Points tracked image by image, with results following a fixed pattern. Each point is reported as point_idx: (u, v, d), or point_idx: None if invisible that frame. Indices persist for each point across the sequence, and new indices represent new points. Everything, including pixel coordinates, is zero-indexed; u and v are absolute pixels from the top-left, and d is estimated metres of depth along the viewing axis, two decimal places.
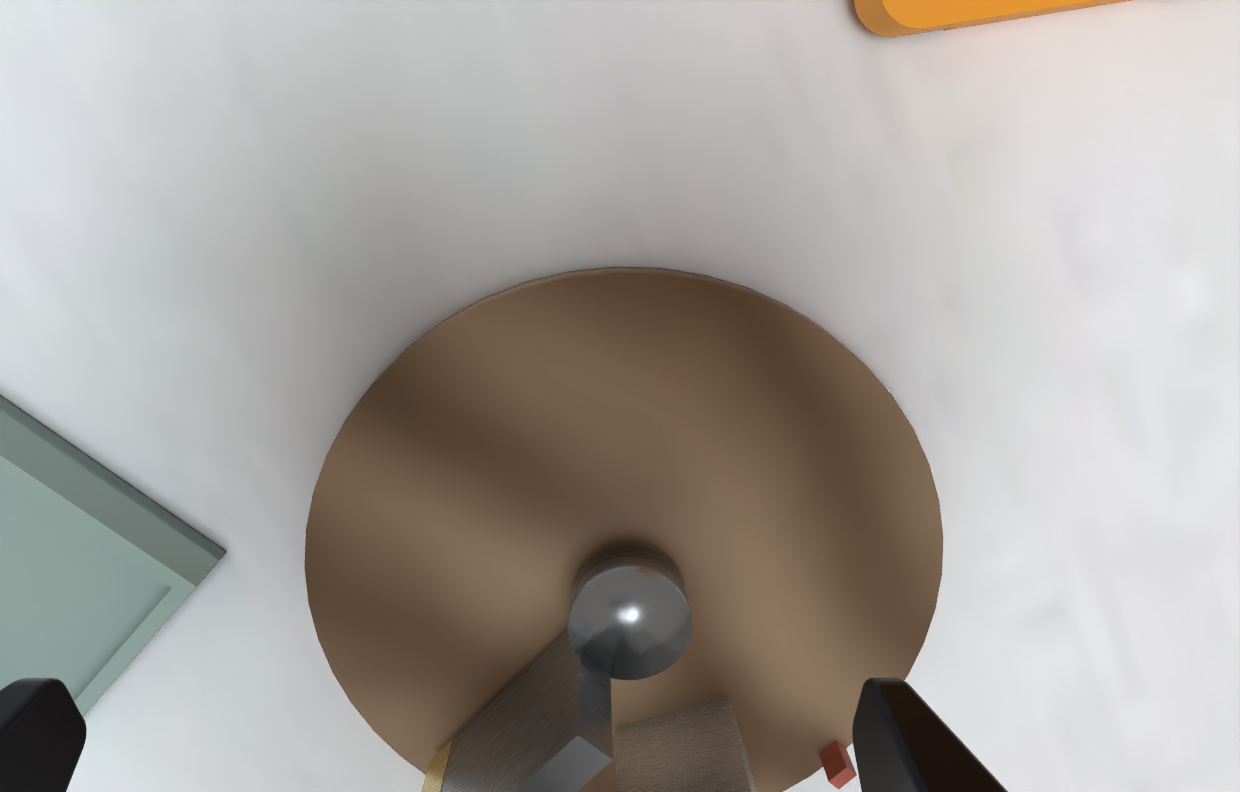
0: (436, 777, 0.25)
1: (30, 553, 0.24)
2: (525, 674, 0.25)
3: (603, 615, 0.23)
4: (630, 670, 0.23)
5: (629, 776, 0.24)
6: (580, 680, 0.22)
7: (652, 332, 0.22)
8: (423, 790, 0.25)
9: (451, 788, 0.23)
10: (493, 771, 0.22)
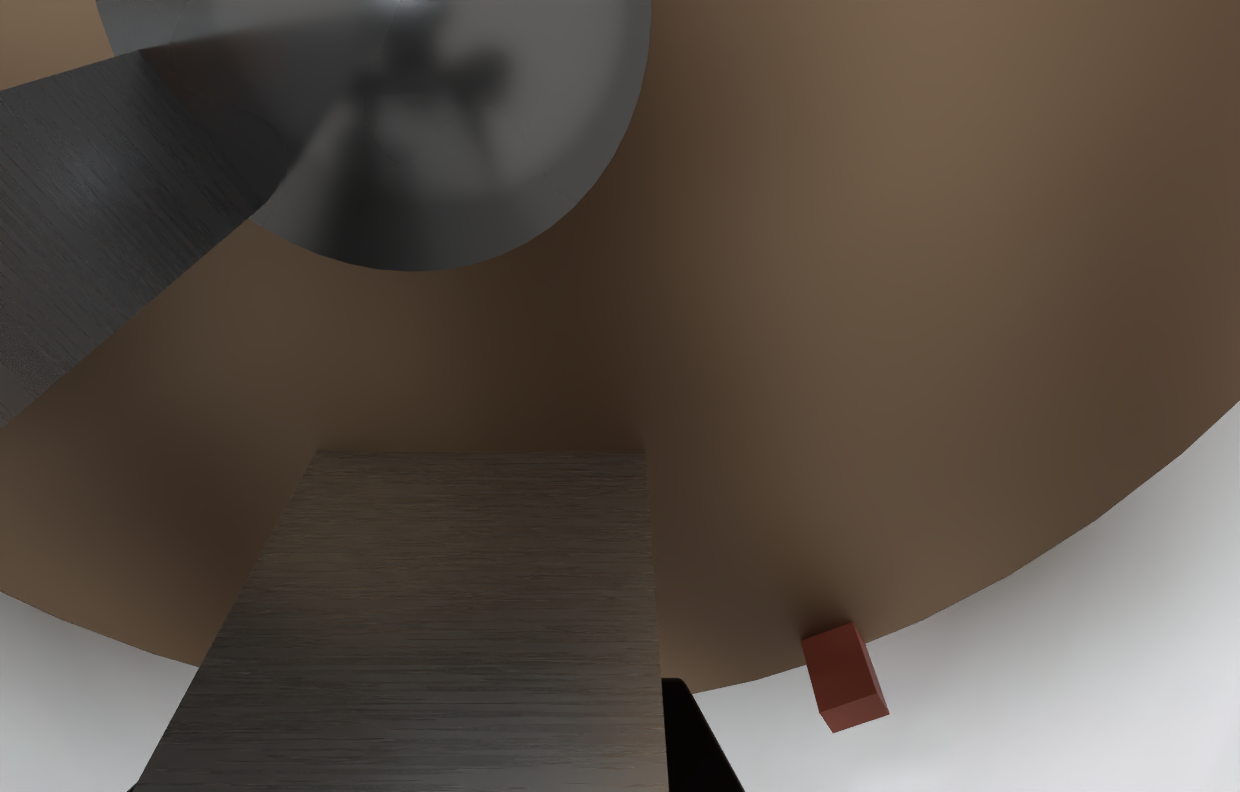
0: None
1: None
2: None
3: None
4: (349, 221, 0.06)
5: (285, 589, 0.08)
6: (19, 92, 0.04)
7: None
8: None
9: None
10: None
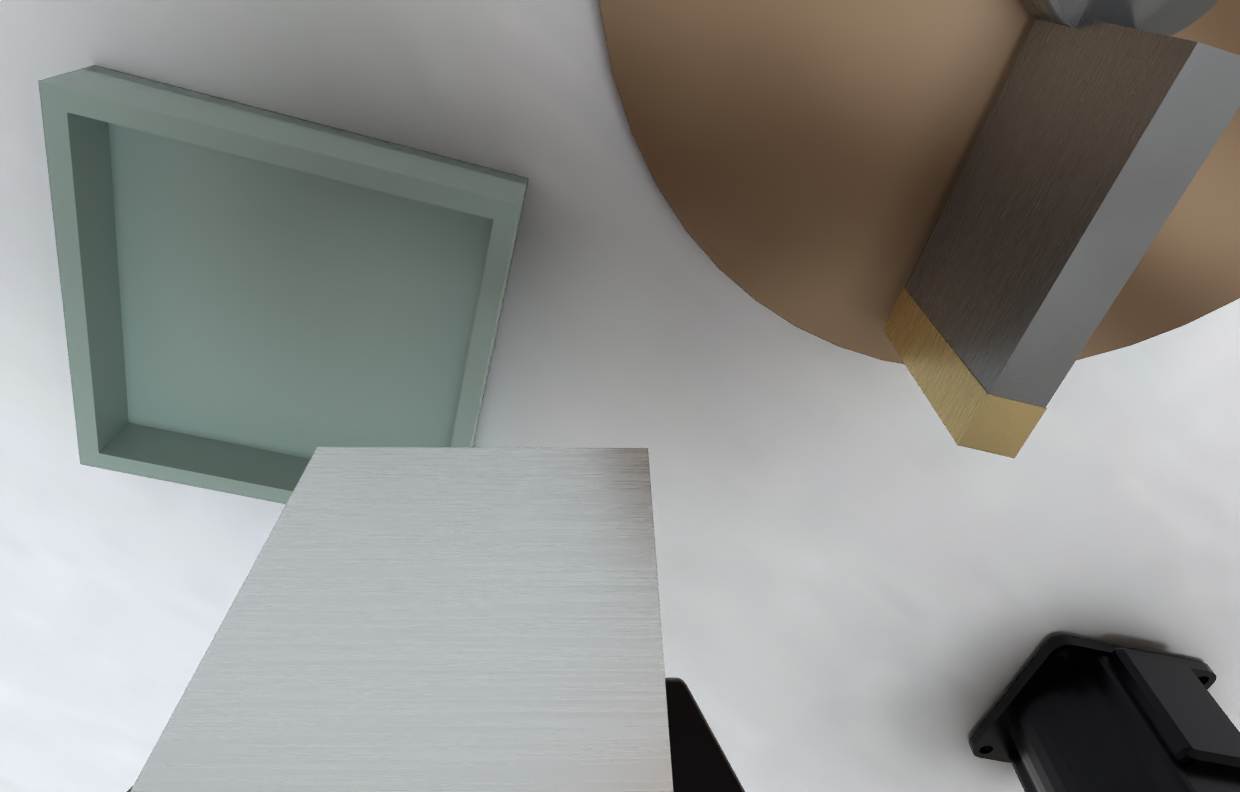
0: (912, 326, 0.18)
1: (327, 278, 0.20)
2: (982, 139, 0.17)
3: None
4: (1171, 16, 0.15)
5: (285, 585, 0.08)
6: (1122, 25, 0.13)
7: None
8: (900, 351, 0.18)
9: (953, 308, 0.17)
10: (1027, 230, 0.15)
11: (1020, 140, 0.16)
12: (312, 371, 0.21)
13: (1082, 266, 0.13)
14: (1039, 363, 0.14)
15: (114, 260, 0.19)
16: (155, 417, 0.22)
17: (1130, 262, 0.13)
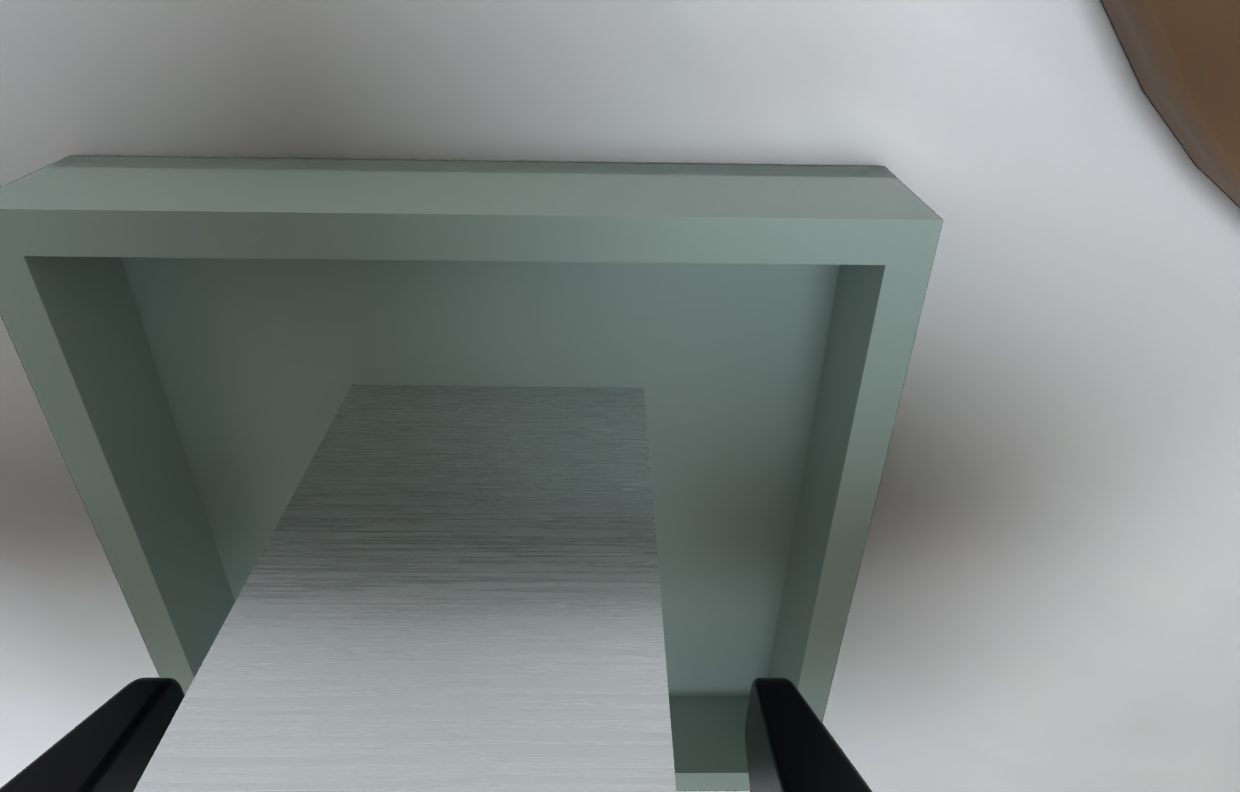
0: None
1: None
2: None
3: None
4: None
5: (334, 489, 0.09)
6: None
7: None
8: None
9: None
10: None
11: None
12: None
13: None
14: None
15: (186, 478, 0.11)
16: None
17: None
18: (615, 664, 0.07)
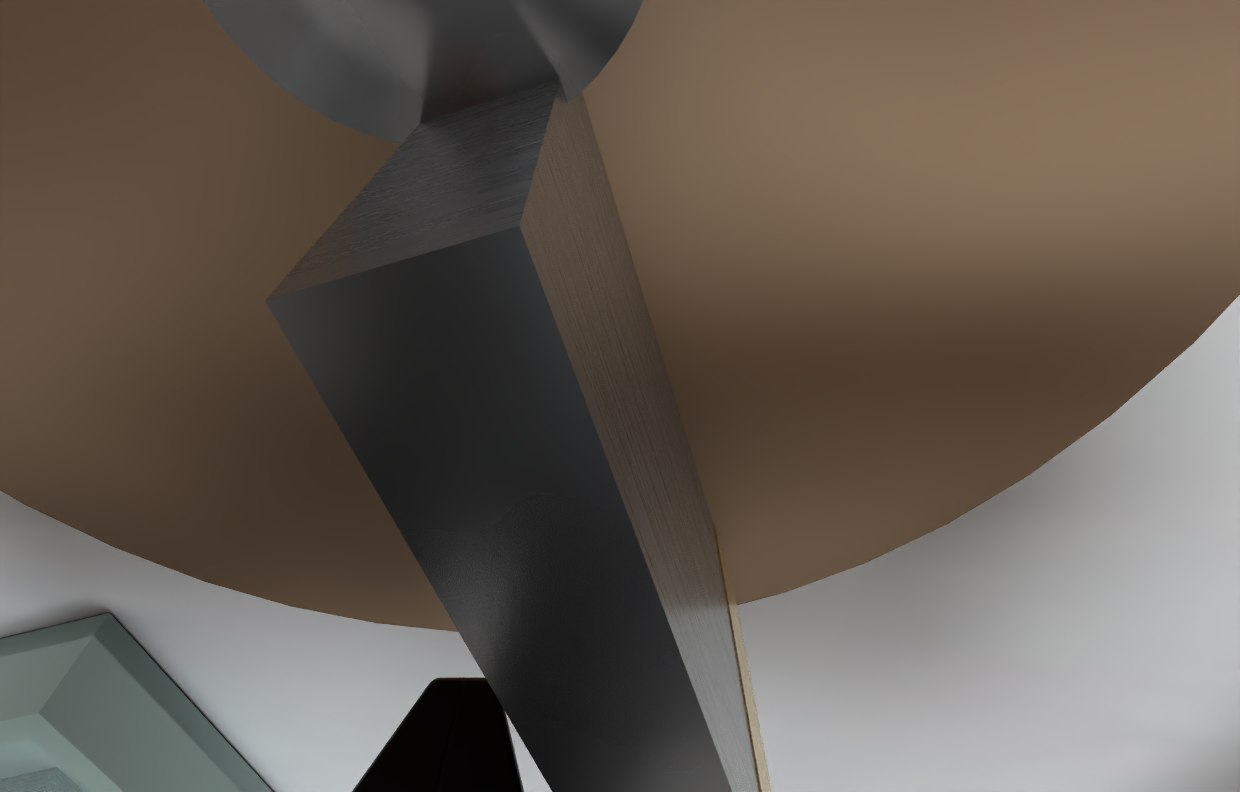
0: None
1: None
2: None
3: None
4: (592, 1, 0.06)
5: None
6: (385, 165, 0.05)
7: None
8: None
9: None
10: None
11: None
12: None
13: (580, 754, 0.05)
14: None
15: None
16: None
17: (679, 708, 0.05)
18: None
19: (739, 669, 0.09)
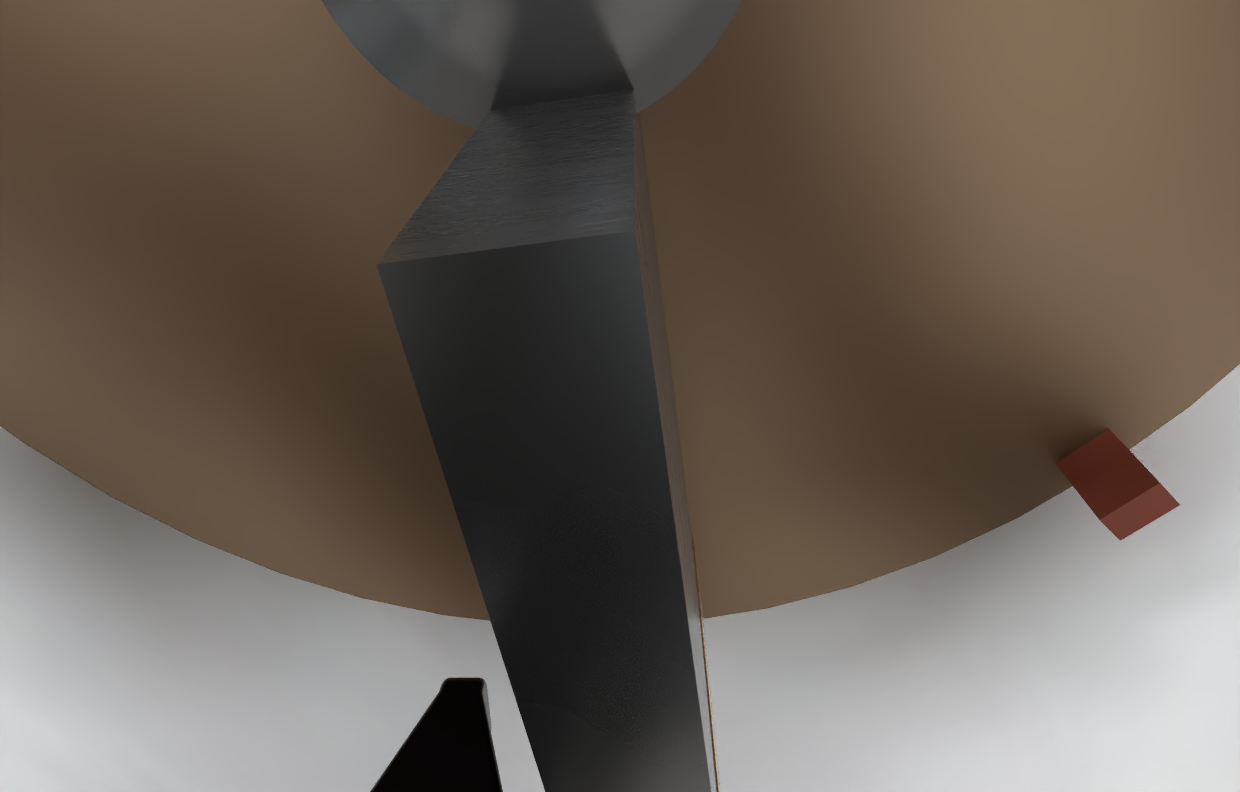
0: None
1: None
2: None
3: None
4: (677, 20, 0.06)
5: None
6: (467, 148, 0.05)
7: None
8: None
9: None
10: None
11: None
12: None
13: (574, 740, 0.05)
14: None
15: None
16: None
17: (678, 707, 0.05)
18: None
19: (707, 680, 0.09)
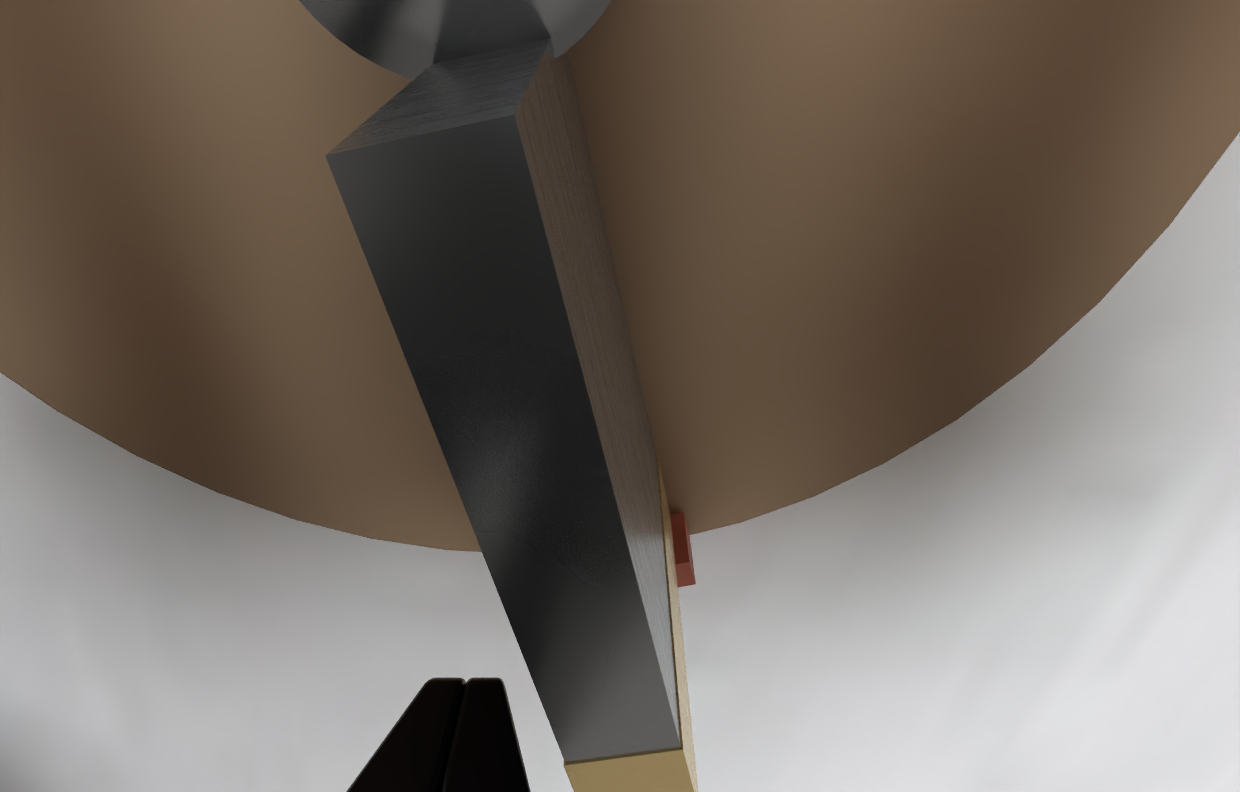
0: None
1: None
2: None
3: None
4: None
5: None
6: (405, 88, 0.07)
7: None
8: None
9: None
10: None
11: None
12: None
13: (526, 567, 0.07)
14: (604, 704, 0.08)
15: None
16: None
17: (607, 530, 0.06)
18: None
19: (666, 566, 0.10)
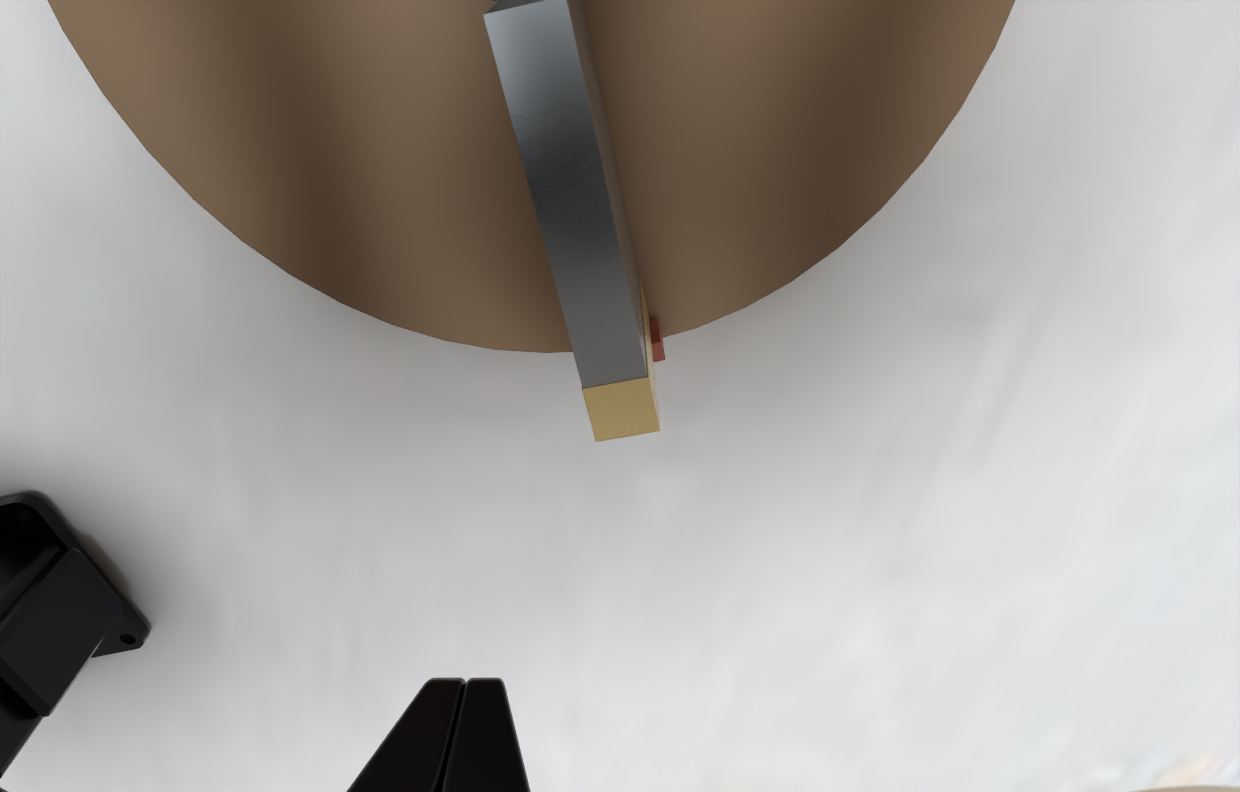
0: None
1: None
2: None
3: None
4: None
5: None
6: (502, 0, 0.13)
7: None
8: None
9: None
10: None
11: None
12: None
13: (564, 246, 0.13)
14: (604, 343, 0.14)
15: None
16: None
17: (605, 221, 0.13)
18: None
19: (642, 314, 0.16)
